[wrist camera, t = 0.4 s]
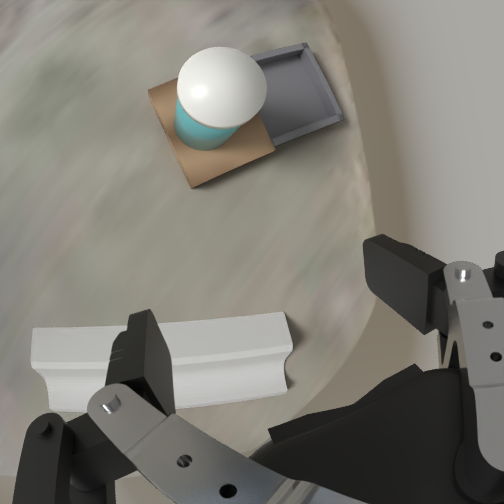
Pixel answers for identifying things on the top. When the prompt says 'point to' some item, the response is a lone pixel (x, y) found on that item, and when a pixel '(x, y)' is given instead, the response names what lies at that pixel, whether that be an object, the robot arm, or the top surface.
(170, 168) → the top surface
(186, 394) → the crown molding
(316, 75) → the tray
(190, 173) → the light tan wooden board
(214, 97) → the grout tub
